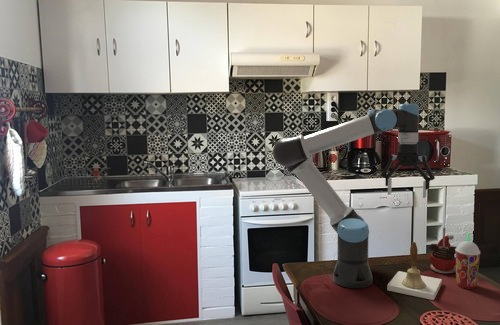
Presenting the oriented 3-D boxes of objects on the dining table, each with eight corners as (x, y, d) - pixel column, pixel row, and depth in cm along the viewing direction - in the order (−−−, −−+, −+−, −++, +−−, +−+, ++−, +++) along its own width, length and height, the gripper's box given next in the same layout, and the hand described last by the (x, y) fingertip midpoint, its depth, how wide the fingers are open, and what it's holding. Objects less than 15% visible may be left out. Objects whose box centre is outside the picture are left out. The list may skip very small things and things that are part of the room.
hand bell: (407, 289, 151) (408, 246, 149) (397, 280, 159) (398, 239, 157) (430, 288, 151) (431, 245, 150) (419, 279, 160) (420, 238, 158)
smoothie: (482, 291, 153) (484, 237, 151) (457, 289, 155) (459, 236, 152) (474, 282, 161) (477, 231, 159) (451, 280, 163) (453, 230, 160)
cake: (427, 272, 172) (428, 229, 170) (430, 264, 180) (432, 223, 178) (455, 276, 167) (457, 232, 164) (458, 269, 174) (460, 227, 172)
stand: (387, 290, 155) (387, 285, 155) (398, 275, 169) (398, 271, 168) (433, 300, 147) (433, 294, 146) (441, 284, 160) (441, 279, 160)
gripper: (373, 143, 171) (372, 194, 173) (440, 144, 157) (438, 200, 159) (379, 141, 177) (378, 191, 179) (443, 143, 163) (441, 197, 166)
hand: (406, 195), depth 169 cm, fingers open, 13 cm apart
